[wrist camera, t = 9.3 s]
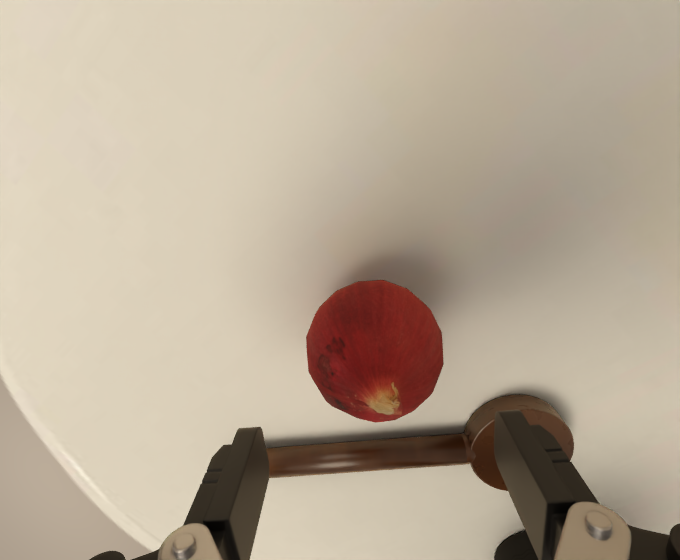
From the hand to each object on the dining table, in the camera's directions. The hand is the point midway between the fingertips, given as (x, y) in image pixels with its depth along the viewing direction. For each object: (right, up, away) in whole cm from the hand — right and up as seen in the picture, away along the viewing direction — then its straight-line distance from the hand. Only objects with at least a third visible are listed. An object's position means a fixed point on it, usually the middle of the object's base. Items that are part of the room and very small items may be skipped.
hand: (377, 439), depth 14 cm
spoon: (+1, -4, +10) cm, 11 cm away
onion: (0, +4, +7) cm, 8 cm away
